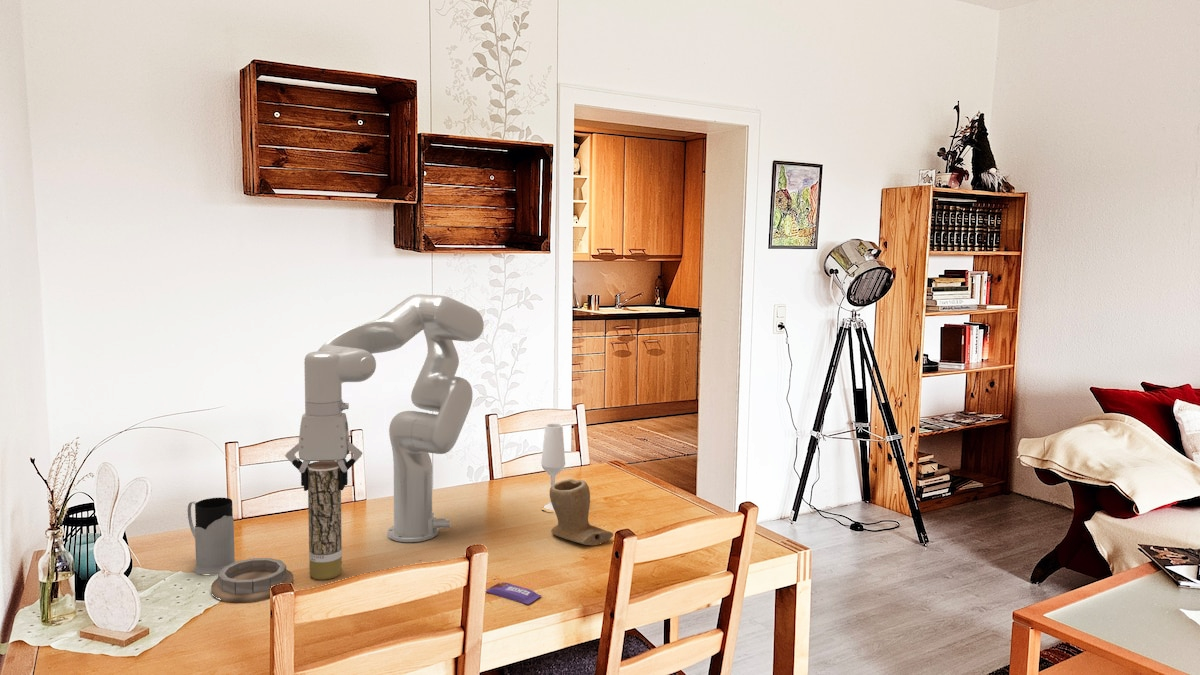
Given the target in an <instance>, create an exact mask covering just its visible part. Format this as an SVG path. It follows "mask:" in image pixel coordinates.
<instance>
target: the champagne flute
mask: <svg viewBox="0 0 1200 675" xmlns="http://www.w3.org/2000/svg"><path fill="white" fill-rule="evenodd" d="M544 427H545V428H544V436H543V445H542V454H541V462H540V464H541V467H542V468H543V470H544V471H545V473H546V474H548V475H549V476H550V487H551V486H552V485H553V484H555V483H556V476H557V475H558V474H560V473H561V472H562V471H563V469H564V468H565V466H566V459H565V457H566V456H565V441H564V430H563V429H564V427H563V424H560V423H547V424H546V425H545V426H544ZM543 506H544V508H546V509H550V510H554V508H553V506H552V503H551V499H550V502H549V503H547V504H545V505H543Z"/></svg>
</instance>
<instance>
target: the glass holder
mask: <svg viewBox="0 0 1200 675" xmlns="http://www.w3.org/2000/svg"><path fill="white" fill-rule="evenodd" d="M192 505H194V514H195V517H194V518H195V525H194V523H193V518H192ZM233 513H234V512H233V499H231V498H228V497H210V498H206V499H201V500H199V501H190V502H189V503H188V506H187V519H188V523H189V527H190V530H191V533H192V535H193V536H192V537H194V540H195V541H194V542H195V544H194V545H195V546H194V547H195V566H194V569H193V572H194V573H195V574H196V573H197V575H199V574H218V573H219V572H220V571H221V570H222V568H224V567H225V566H228V565H230V564H232V563H234V562H237V561H236V558H235V556H236V555H235V526H234V525H235V524H234V523H235V520H234V516H233Z"/></svg>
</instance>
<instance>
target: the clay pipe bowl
mask: <svg viewBox="0 0 1200 675" xmlns="http://www.w3.org/2000/svg"><path fill="white" fill-rule="evenodd" d="M549 499H550V500H551V503H552V506H553V508H554V511H555V513H554V514H555V515H556V518H557V525H555V526H553V527H552V528H551V529H550V533H552V535H554V536H557V537H559V538H562V539H564V540H568V541H571V542H575V543H578V544H581V545H585V546H597V545H596V544H598V545H601V544H604V543H606V542H607V541H609V540H610V539H612V537H614V532H611V531H608V530H605V529H604V528H600V527H597V526H594V525H592V524H590V523H589V522H590V521H589V512H590V507H591V506H590V505H591V491H590V487H589V485H588V483H587V482H586V481H585V480H583V479H579V480H577V479H572V478H569V479H564V480H560V481H558V482H555V484H553V485H552V486H551V485H550V488H549ZM600 543H601V544H600Z"/></svg>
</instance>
